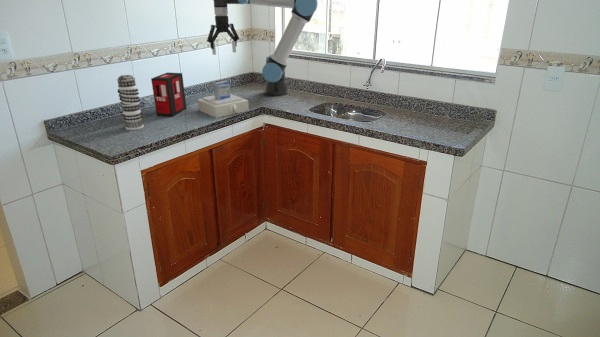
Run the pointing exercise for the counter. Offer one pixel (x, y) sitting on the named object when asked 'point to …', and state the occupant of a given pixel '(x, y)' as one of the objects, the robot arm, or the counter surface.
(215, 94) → the medicine box
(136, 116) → the striped tower model
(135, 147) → the counter surface
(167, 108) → the cleaning product box
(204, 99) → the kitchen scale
